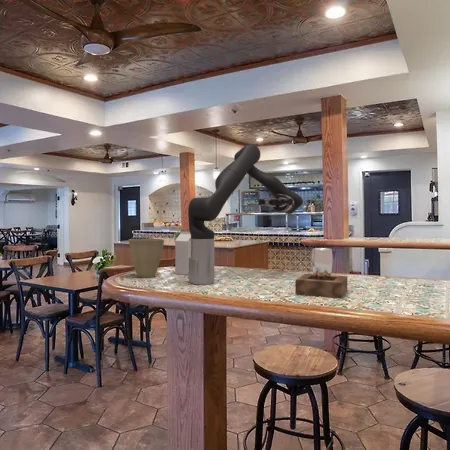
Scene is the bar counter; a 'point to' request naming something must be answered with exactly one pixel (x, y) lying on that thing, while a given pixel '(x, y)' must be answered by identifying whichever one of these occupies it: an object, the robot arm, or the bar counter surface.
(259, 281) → the bar counter surface
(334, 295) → the walnut well block
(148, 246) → the plant pot
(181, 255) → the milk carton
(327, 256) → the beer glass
